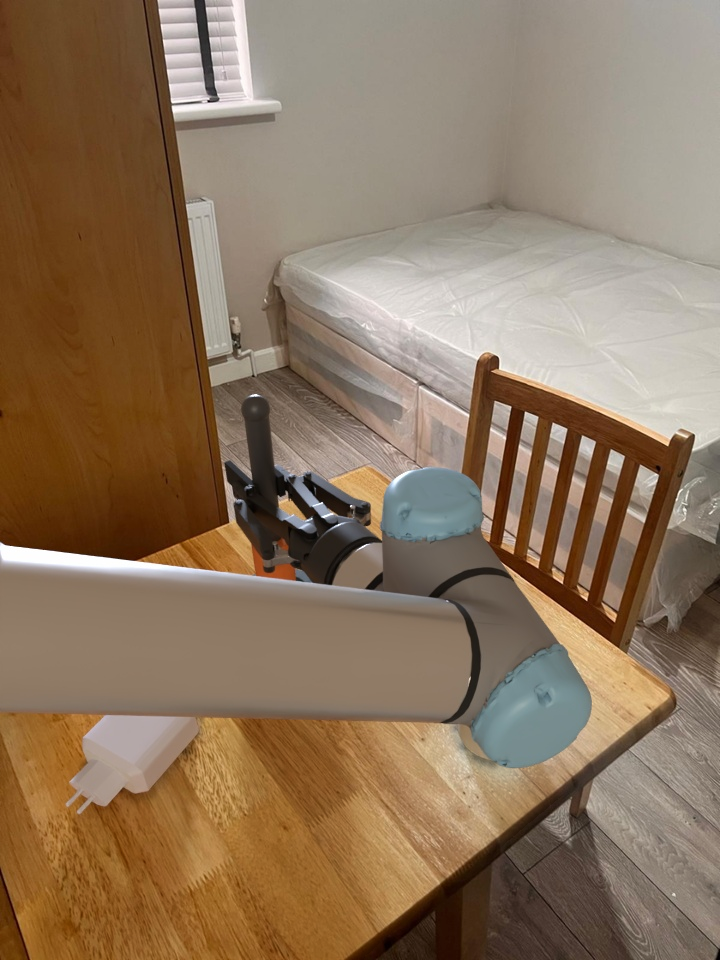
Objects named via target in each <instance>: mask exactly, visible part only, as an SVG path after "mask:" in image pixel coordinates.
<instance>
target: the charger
mask: <svg viewBox="0 0 720 960" xmlns="http://www.w3.org/2000/svg"><path fill="white" fill-rule="evenodd" d="M199 733H200V729H199V725H198V720H197V717H166V716H124V715H103V717H102V718H101V719H100V720H99V721H98V722H97V723H96V724H95V725H94V726H92V728H91V729H90V730H89V731H88V732H87V733H86V734H85V735H84V736H83V737H82V741H81V742H82V743H81V744H82V747H81V748H82V752H83V754H84V757H85V760H86V762H87V763H86V764H85V765H84V766H83V767H82V768H81V769H80V770H79V771H78V772H77V773H76V774H75V775H74V776H73V777H72V778H71V780H69V782H68V783H69V784H70V786H71V787H72V788H73V789H74V790H76V791H75V793H74V794H73V795H72V796H71V797H70V798H69V799H68V801H66V803H65V807H66V808H69V807H71V805H72V804H73V803H74V802H75V801H76V800H77V799H78V798H79V797H80V796H83V797H84V798H86V800H85V802H84V803H82V805H81V806H80V807H79V808H78V809H77V810H76V814H78V815H81V814H82V813H83V812H84V811H85V810H86V808H88V806H89V805H90V804H91V803H94V804H96V805H97V806H101V807H107V806H108V805H109V804H110V803H111V802H112V800H113V799H114V798H115V797H116V796H117V795H118V794H119V792H120V791H121V790H122V789H123V788H124V789H126V790H127V791H129V792H131V793H133V794H141V793H146V792H149V791H150V790H151V788H152V787H153V786H154V785H155V784H156V783H157V782H158V780H159V779H160V778H161V777H162V776H163V775H164V774H165V772H166V771H167V770H168V769H169V768H170V767H171V765H172V764H174V762H175V761H176V760H177V758H179V756H180V755H181V754H182V752H183V751H184V750H185V749H186V748H187V747H188V746H189V744H190V743H192V741H193V740H194V739H195V738H196V737H197V736H198V734H199Z"/></svg>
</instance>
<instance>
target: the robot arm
mask: <svg viewBox="0 0 720 960" xmlns="http://www.w3.org/2000/svg"><path fill="white" fill-rule="evenodd" d="M223 464H224V469H225V470H224V471H225V477H226V482H227V483H228V484H229V485H230V486H231V490H232V496H233V497H234V499H236V500H235V501H234V502H233V510H234V511H233V512H234V518H235V522H236V524H237V526H238V527H239V528H240V529H239V530H241V531H242V533H243V534H244V536H245V537H246V539H247V540H248V541H249V543H250V544H252V545H253V547H254V548H255V549H256V551H257V552H258V554H259V555H260V556H261V558H262V563H263V570H264V572H265V573H272V572H274V571H275V566H276V565H283V564H290V565H291V566H292V567H294V568H295V569H298V570H301V571H304V572H305V573H306V575H307V576H308V578H309V579H310V580H311V581H312V583H308V582H300V581H292V580H283V579H275V578H267V577H259V576H252V574H251V575H250V574H242V573H233V572H227V571H219V570H218V571H217V570H208V569H200V568H192V567H184V566H175V565H170V564H169V565H167V564H159V563H153V562H143V561H136V560H126V559H120V558H119V559H118V558H111V557H103V556H94V555H86V554H78V553H69V552H61V551H54V550H45V549H44V550H43V549H38V548H28V547H22V546H21V547H19V546H13V545H11V546H10V545H5V544H4V543H2V542H1V541H0V713H1V714H2V713H3V714H8V713H9V714H43V715H44V714H45V715H47V714H48V715H82V716H83V715H86V716H87V715H89V716H96V715H97V716H105V715H124V716H166V717H196V718H212V719H215V718H216V719H252V720H253V719H255V720H256V719H259V720H297V721H298V720H299V721H300V720H301V721H340V722H341V721H342V722H378V723H379V722H380V723H381V722H383V723H421V724H424V723H425V724H429V723H430V724H443V725H458V724H463V725H467V726H468V727H469V728H470V730H471V735H472V738H473V740H474V741H475V742H476V743H477V744H478V745H479V747H480V748H481V750H482V751H483V753H484V754H485V755H486V756H487V757H488V758H489V759H490V760H489V761H492V762H494V763H497V764H498V765H499V766H500V767H502V768H506V769H523V768H528V767H532V766H535V765H540V764H542V763H544V762H546V761H549V760H550V759H552V758H554V757H556V756H558V755H559V754H561V753H562V752H563V751H565V750H566V749H568V747H569V746H571V745H572V744H573V743H574V742H575V741H576V740H577V738H578V736H579V734H580V733H581V732H582V731H583V730H584V729H585V727H587V724H588V722H589V720H590V717H591V715H592V710H593V699H592V695H591V691H590V690H589V687H588V685H587V683H586V682H585V681H584V679H583V677H582V675H581V674H580V672H579V671H578V669H577V668H576V665H575V664H574V663H573V660H571V658H570V656H569V651H568V649H567V648H566V647H565V646H564V644H561V643H560V642H559V640H558V639H557V638H556V636H555V635H554V634H553V633H554V632H552V631H551V629H550V628H549V626H548V625H547V624H546V622H545V621H544V619H543V618H542V617H541V616H540V614H539V613H538V611H537V610H536V608H534V606H533V605H532V603H531V602H530V601H529V599H528V598H527V597H526V595H525V594H524V593H523V591H522V590H521V588H520V587H519V586H518V584H517V583H516V581H515V580H514V578H513V577H512V575H511V574H510V572H509V571H508V569H507V568H506V566H505V565H504V564H503V562H502V560H500V558H499V556H497V554H496V553H495V551H494V550H493V548H492V546H490V544H489V543H488V541H487V540H486V538H485V537H484V535H483V532H482V525H483V522H484V519H485V515H484V512H483V496H482V493H481V490H480V488H479V486H478V485H477V483H476V482H474V480H473V479H471V478H470V477H469V476H467V475H466V474H464V473H462V472H459V471H457V470H454V469H451V468H446V467H439V466H438V467H437V466H427V467H425V466H424V467H423V468H417V469H411V470H408V471H405V472H402V474H400V475H398V476H397V477H395V478H394V479H393V480H392V481H390V483H389V484H388V485H387V487H386V488H385V491H384V494H383V501H382V513H381V521H380V523H379V530H380V532H381V538H379V537H378V536H377V535H376V534H374V532H373V531H371V530H370V529H368V527H369V526H370V525H372V506H371V505H372V503H370V502H369V501H366V500H363V499H360V498H356V497H353V496H352V495H350V494H349V493H346V492H345V491H344V490H342V489H340V488H339V487H337V486H336V485H334V484H333V483H331V482H330V481H328V480H326V479H325V478H323V477H321V476H320V475H319V474H317V473H315V472H314V471H312V470H306V471H304V472H303V473H302V475H299V476H298V475H296V474H294V473H290V472H289V471H288V470H287V469H286V468H284V466H282V465H280V464H276V465H275V464H274V465H275V474H276V483H277V492H278V498H282V497H285V496H287V500H288V502H289V503H290V502H292V503H293V504H294V506H296V508H297V509H298V510H299V512H300V513H301V514H302V515H303V516H304V518H305V519H304V520H303V519H302V518H300V517H299V516H297V515H296V514H291V515H290V514H289V513H287V512H286V511H285V510H283V509H281V507H279V508H278V507H277V506H276V505H274V504H273V503H271V502H270V501H268V500H267V499H265V498H264V497H262V496H261V495H259V488H258V485H257V484H256V483H254V482H253V481H252V478H250V477H249V476H248V475H247V474H246V473H245V472H244V471H243V470H242V469H241V468H240V467H238V466H237V465H236V464H235V463H234V462H233V461H232V460H231V459H228V460H226V461H224V463H223ZM261 523H262V524H263V525H265V526H266V527H267V528H269V529H270V530H272V531H273V532H274V533H276V534H277V535H279V536H280V537H281V538H283V539H284V540H285V542H286V544H287V545H288V546H289V547H288V550H283V549H282V548H281V546H279V545H278V543H277V542H276V541H274V542H272V539H271V536H270V535H269V533H268V532H267V531H266V529H265V528H264V527H263V525H262V524H261Z"/></svg>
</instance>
